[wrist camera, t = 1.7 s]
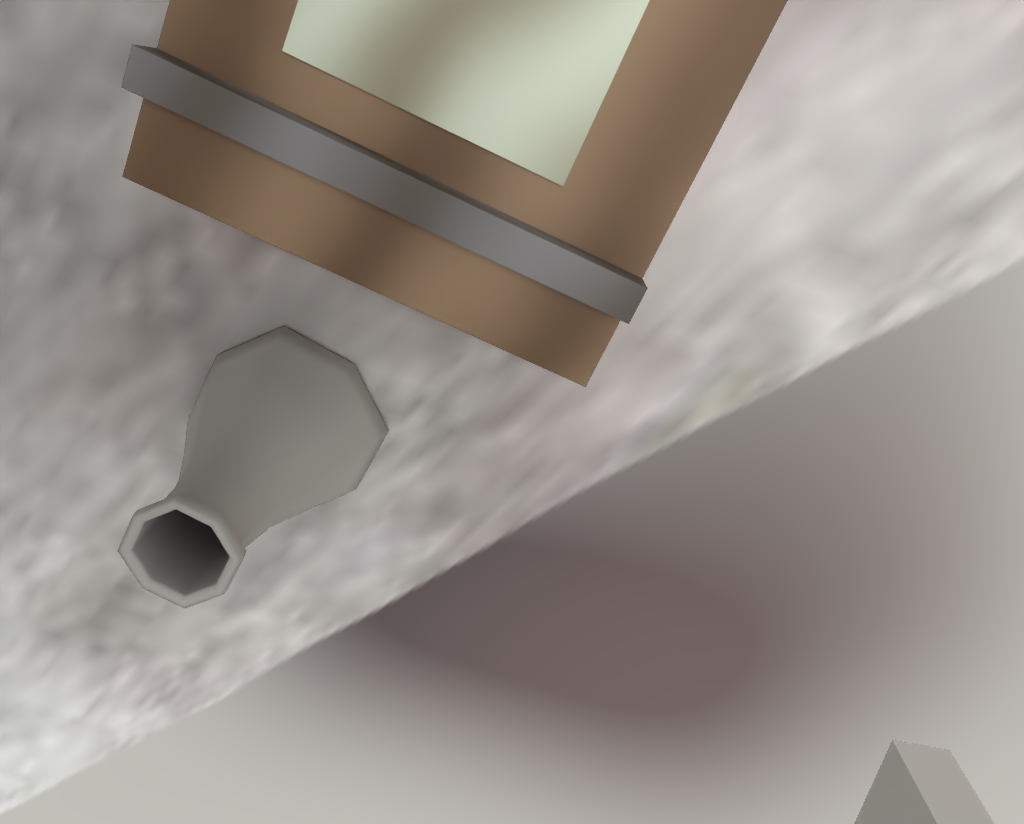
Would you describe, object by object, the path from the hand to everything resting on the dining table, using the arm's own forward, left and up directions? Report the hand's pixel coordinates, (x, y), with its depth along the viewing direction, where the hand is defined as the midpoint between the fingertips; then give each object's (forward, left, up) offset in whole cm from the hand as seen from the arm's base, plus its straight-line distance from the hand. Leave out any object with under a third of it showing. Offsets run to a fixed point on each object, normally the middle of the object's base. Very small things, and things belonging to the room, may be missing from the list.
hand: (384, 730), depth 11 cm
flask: (-6, -7, -20) cm, 22 cm away
